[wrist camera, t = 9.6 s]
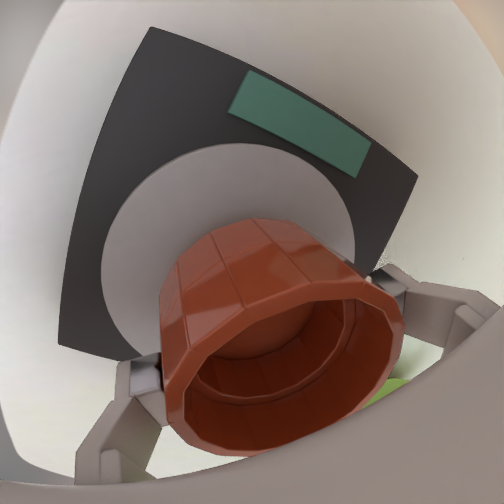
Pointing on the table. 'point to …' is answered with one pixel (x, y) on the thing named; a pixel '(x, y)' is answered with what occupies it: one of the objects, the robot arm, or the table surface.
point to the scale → (210, 184)
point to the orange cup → (270, 338)
